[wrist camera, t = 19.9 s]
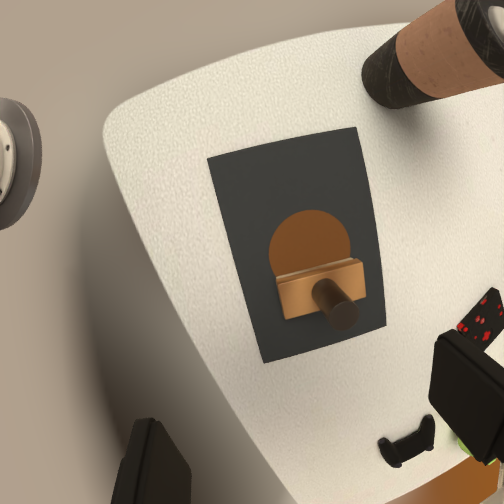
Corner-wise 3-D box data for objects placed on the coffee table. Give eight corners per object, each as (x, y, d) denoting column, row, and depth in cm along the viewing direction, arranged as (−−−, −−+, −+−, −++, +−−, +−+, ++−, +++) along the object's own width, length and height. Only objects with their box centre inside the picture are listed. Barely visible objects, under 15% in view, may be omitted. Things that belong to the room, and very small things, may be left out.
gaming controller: (373, 438, 45) (384, 469, 41) (378, 441, 41) (389, 474, 37) (425, 412, 44) (435, 442, 41) (433, 413, 40) (444, 445, 37)
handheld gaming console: (502, 321, 39) (539, 346, 29) (456, 371, 40) (489, 404, 30) (492, 284, 37) (535, 308, 27) (441, 339, 38) (480, 374, 28)
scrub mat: (263, 361, 36) (263, 363, 36) (207, 158, 30) (206, 158, 30) (385, 324, 36) (386, 325, 36) (354, 127, 30) (356, 126, 30)
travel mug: (371, 116, 30) (506, 74, 11) (349, 54, 28) (455, -33, 9) (422, 107, 30) (554, 80, 11) (402, 50, 28) (516, -11, 9)
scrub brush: (280, 308, 34) (297, 350, 25) (273, 275, 33) (288, 310, 24) (356, 288, 34) (391, 321, 26) (352, 255, 33) (389, 280, 24)
